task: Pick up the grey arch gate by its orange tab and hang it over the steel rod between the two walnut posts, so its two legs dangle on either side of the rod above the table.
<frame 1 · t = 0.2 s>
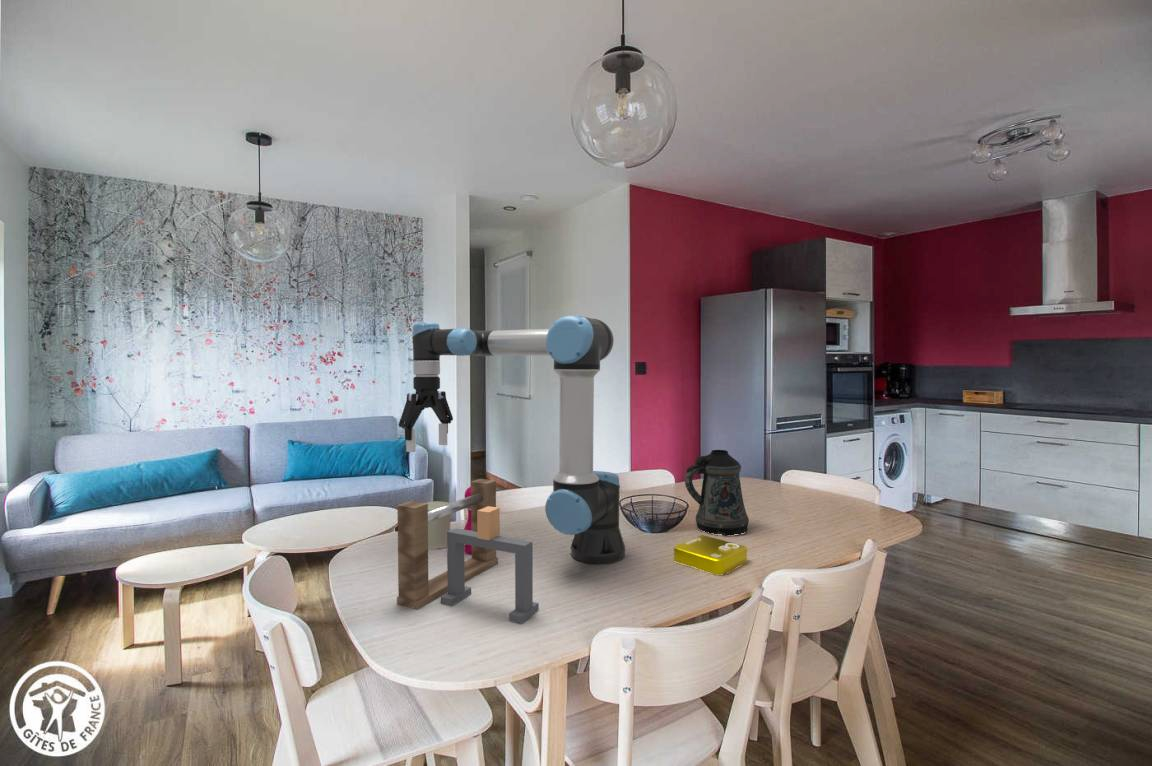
hand: (427, 448, 160), 28 cm above the table, tool pointing down, fingers open, 13 cm apart
element tile: (710, 563, 146), on the table
can: (434, 545, 159), on the table
beer stein: (718, 529, 174), on the table
rack: (452, 581, 132), on the table
pepper mill: (475, 551, 154), on the table
grey arch gate: (489, 606, 119), on the table
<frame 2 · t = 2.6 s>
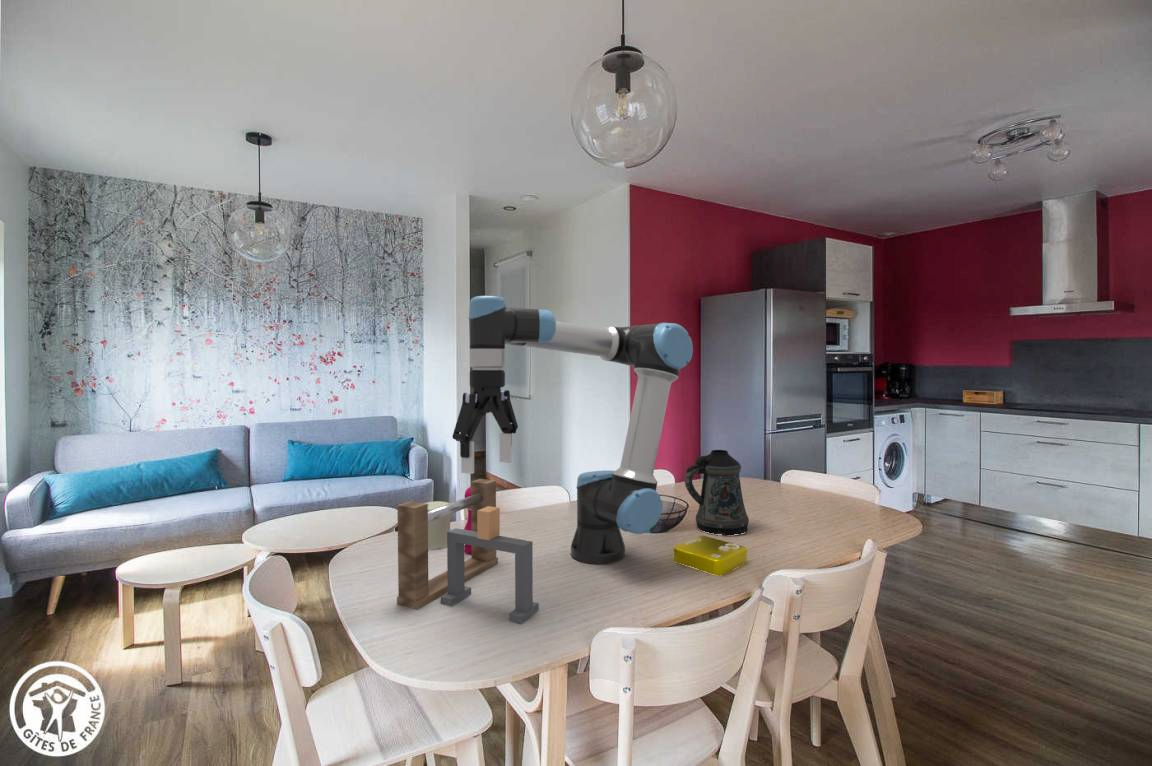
hand: (487, 467, 118), 31 cm above the table, tool pointing down, fingers open, 13 cm apart
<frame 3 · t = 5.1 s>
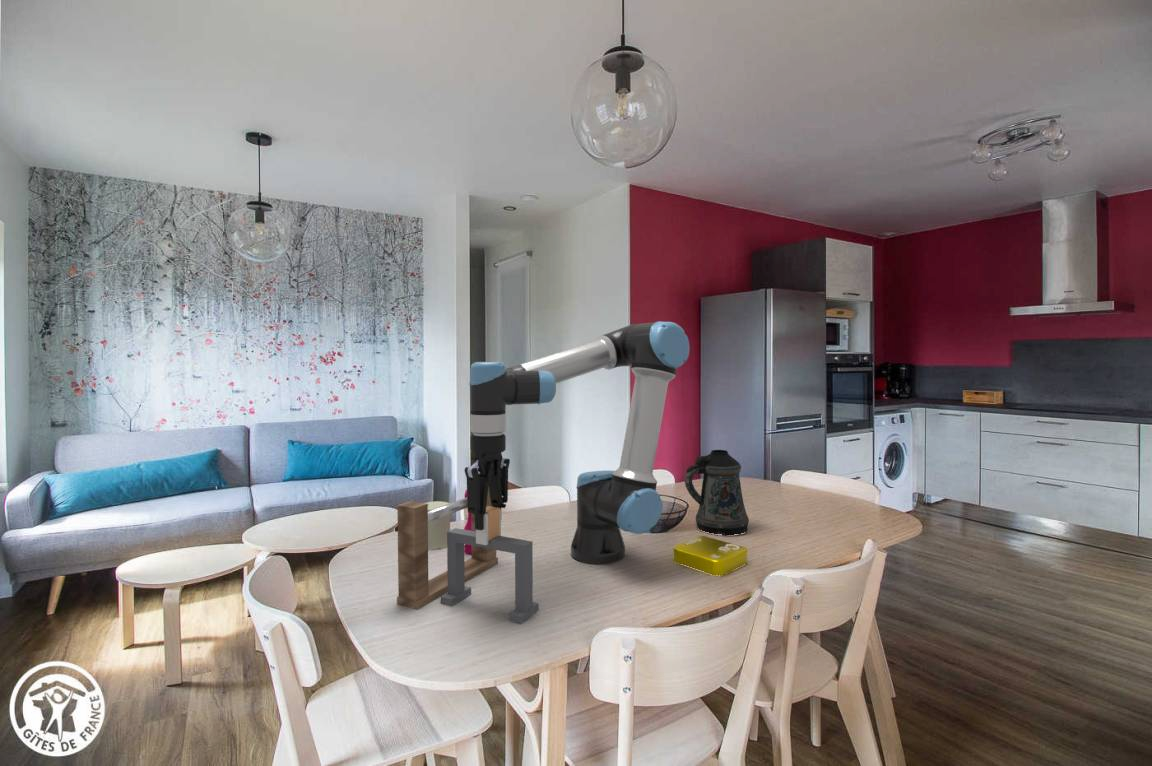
hand: (488, 540, 118), 15 cm above the table, tool pointing down, fingers closed on grey arch gate, 4 cm apart
grey arch gate: (489, 606, 119), on the table, touching gripper
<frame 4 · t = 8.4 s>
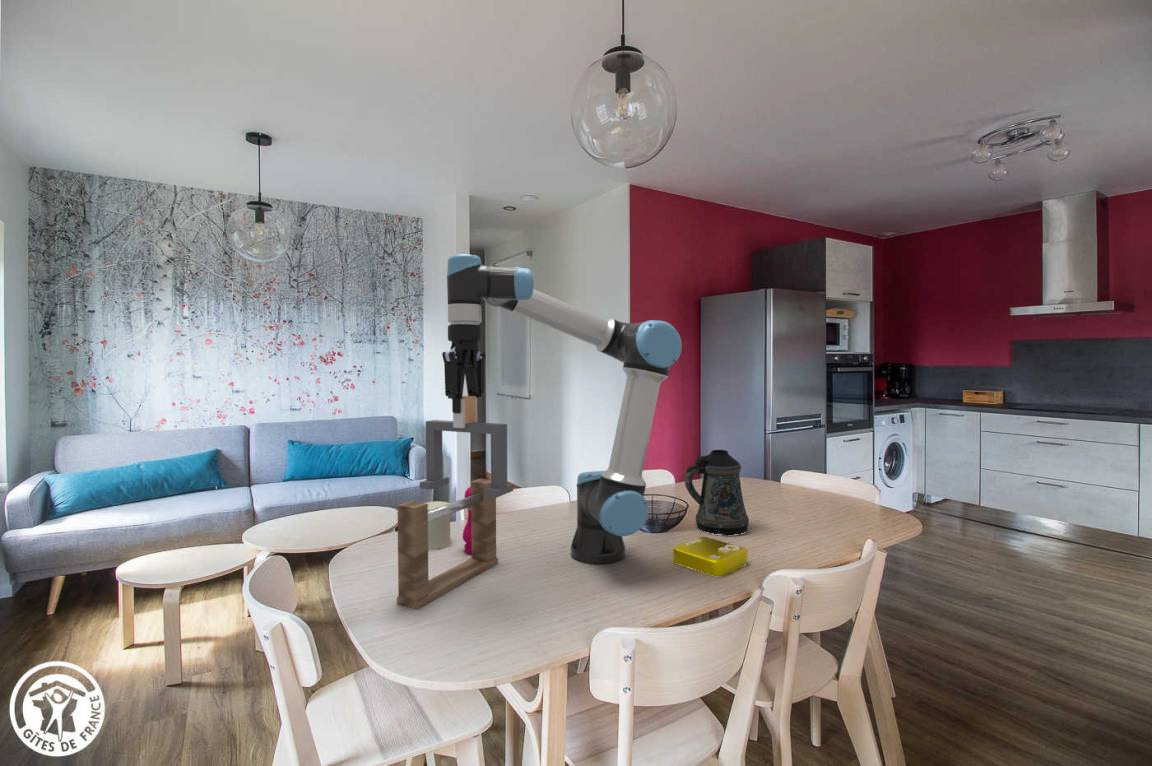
hand: (465, 426, 125), 39 cm above the table, tool pointing down, fingers closed on grey arch gate, 4 cm apart
grey arch gate: (465, 489, 125), point 24 cm above the table, touching gripper
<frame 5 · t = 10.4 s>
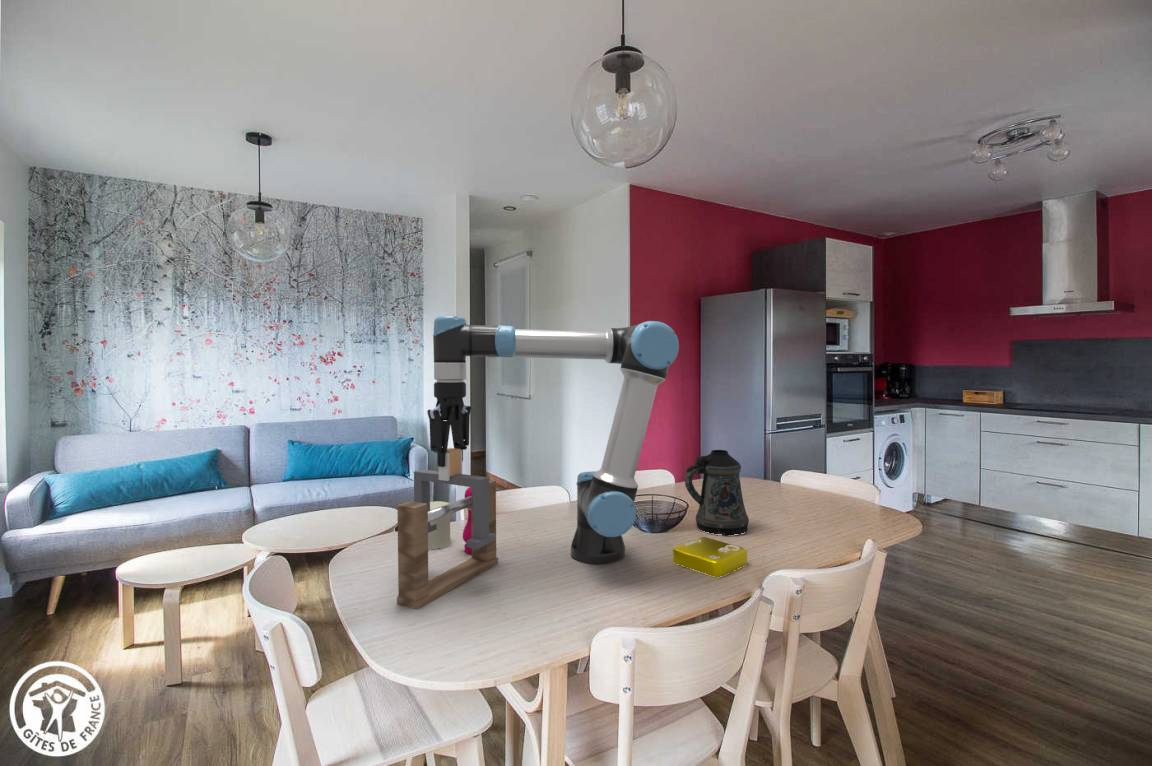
hand: (450, 477, 131), 25 cm above the table, tool pointing down, fingers closed on grey arch gate, 4 cm apart
grey arch gate: (450, 537, 132), point 11 cm above the table, touching gripper
when the fingers open (21 cm above the table, at t = 12.0 s): grey arch gate stays where it is, resting on rack.
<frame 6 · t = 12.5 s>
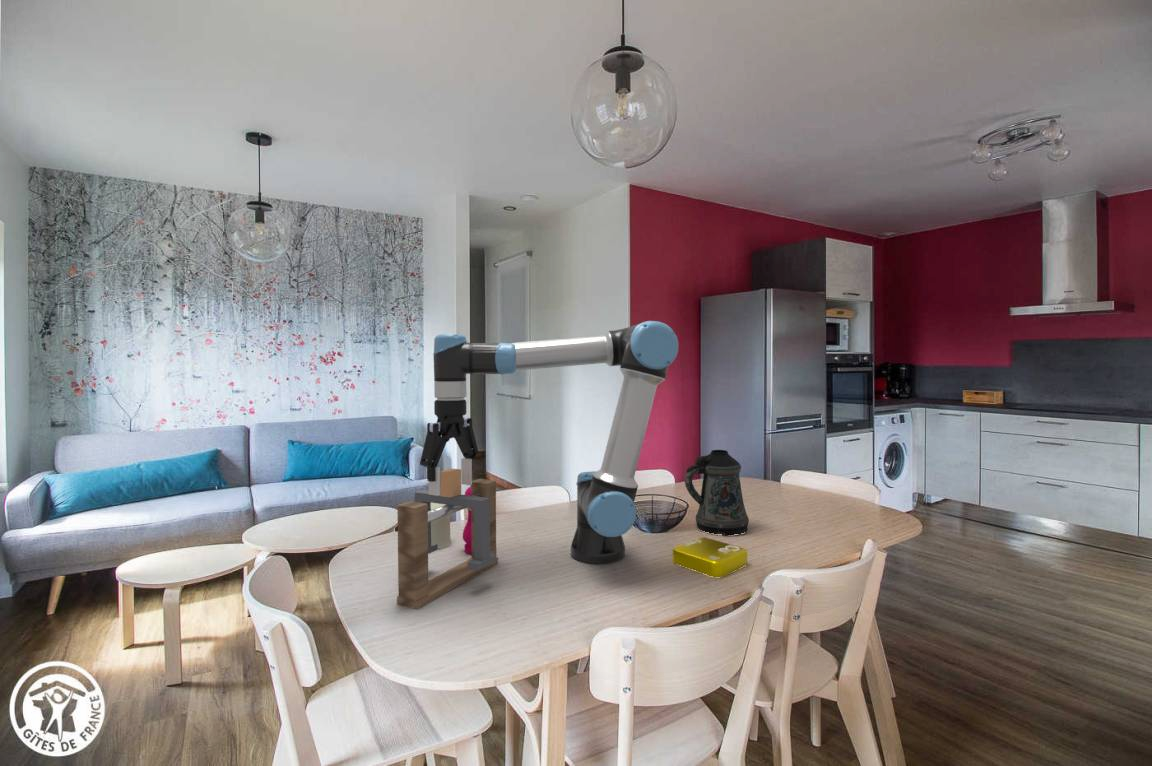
hand: (451, 489, 131), 23 cm above the table, tool pointing down, fingers open, 11 cm apart
grey arch gate: (451, 558, 132), point 6 cm above the table, touching rack
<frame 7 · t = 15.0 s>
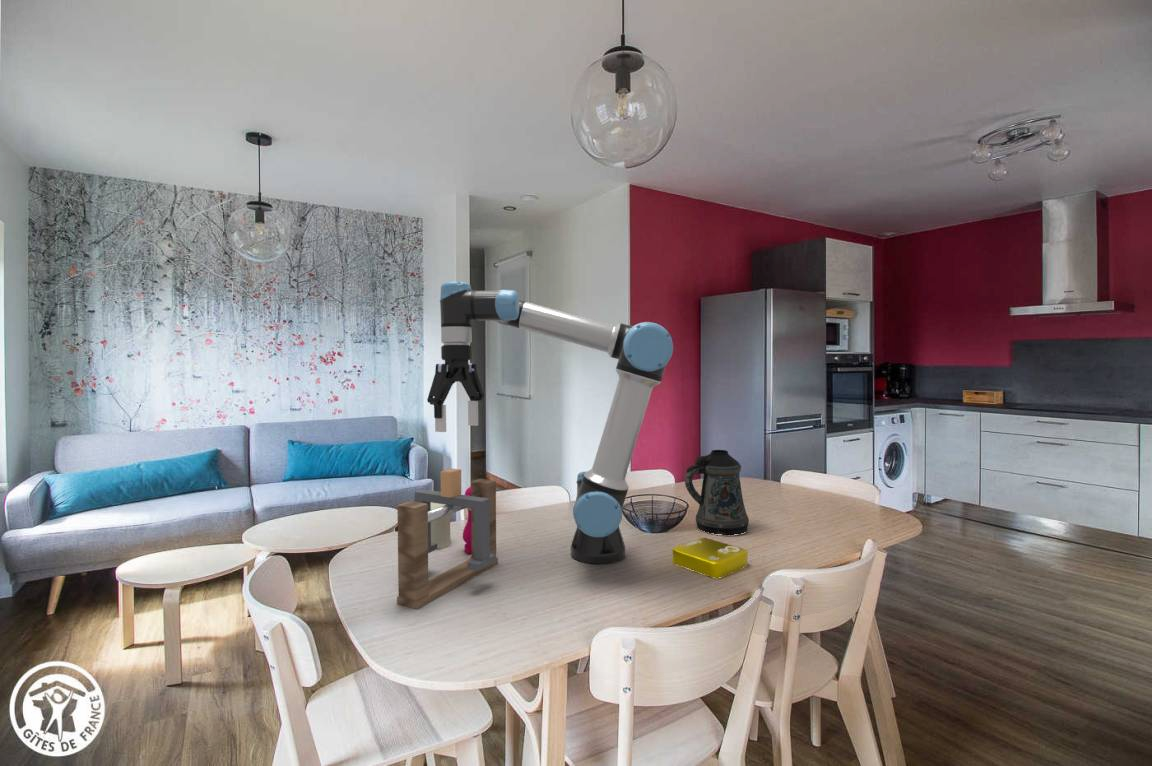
hand: (457, 428, 138), 36 cm above the table, tool pointing down, fingers open, 13 cm apart
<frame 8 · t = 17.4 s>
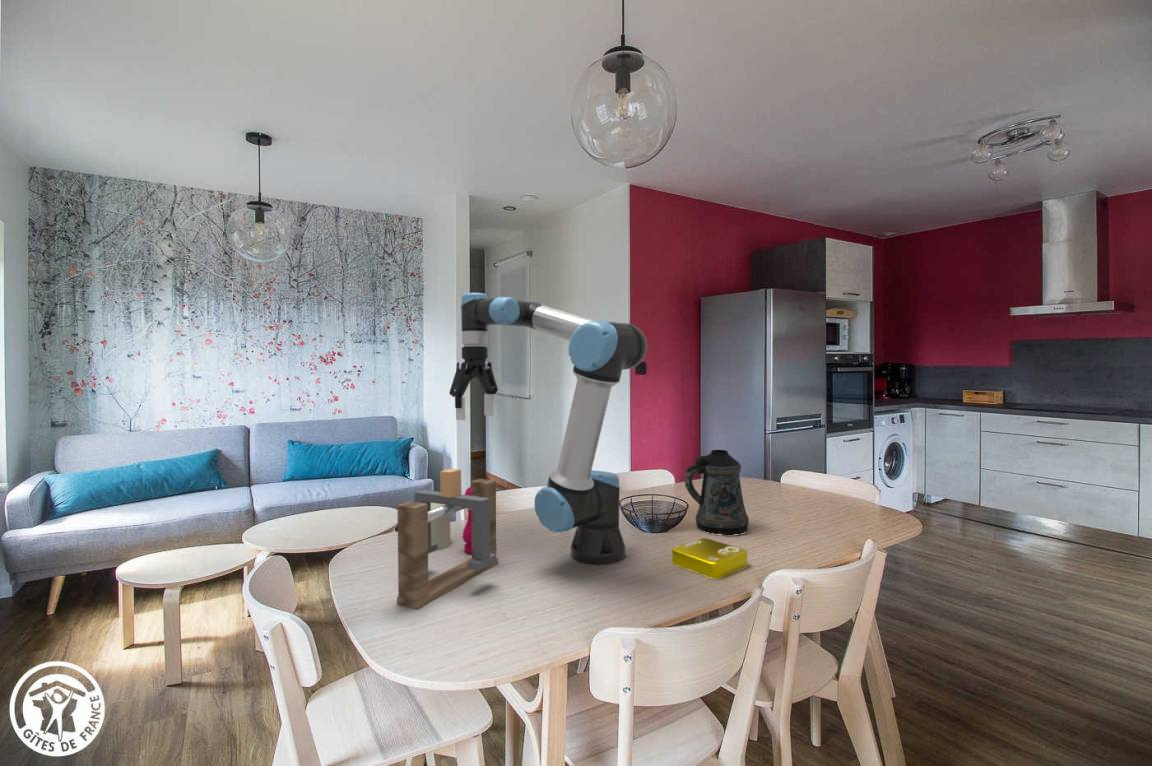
hand: (475, 417, 162), 37 cm above the table, tool pointing down, fingers open, 13 cm apart
at the end: grey arch gate inside the target area on the rack (0.1 cm from its centre), point 5.7 cm above the rack's base; grey arch gate touching rack; grey arch gate tilted 1° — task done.
